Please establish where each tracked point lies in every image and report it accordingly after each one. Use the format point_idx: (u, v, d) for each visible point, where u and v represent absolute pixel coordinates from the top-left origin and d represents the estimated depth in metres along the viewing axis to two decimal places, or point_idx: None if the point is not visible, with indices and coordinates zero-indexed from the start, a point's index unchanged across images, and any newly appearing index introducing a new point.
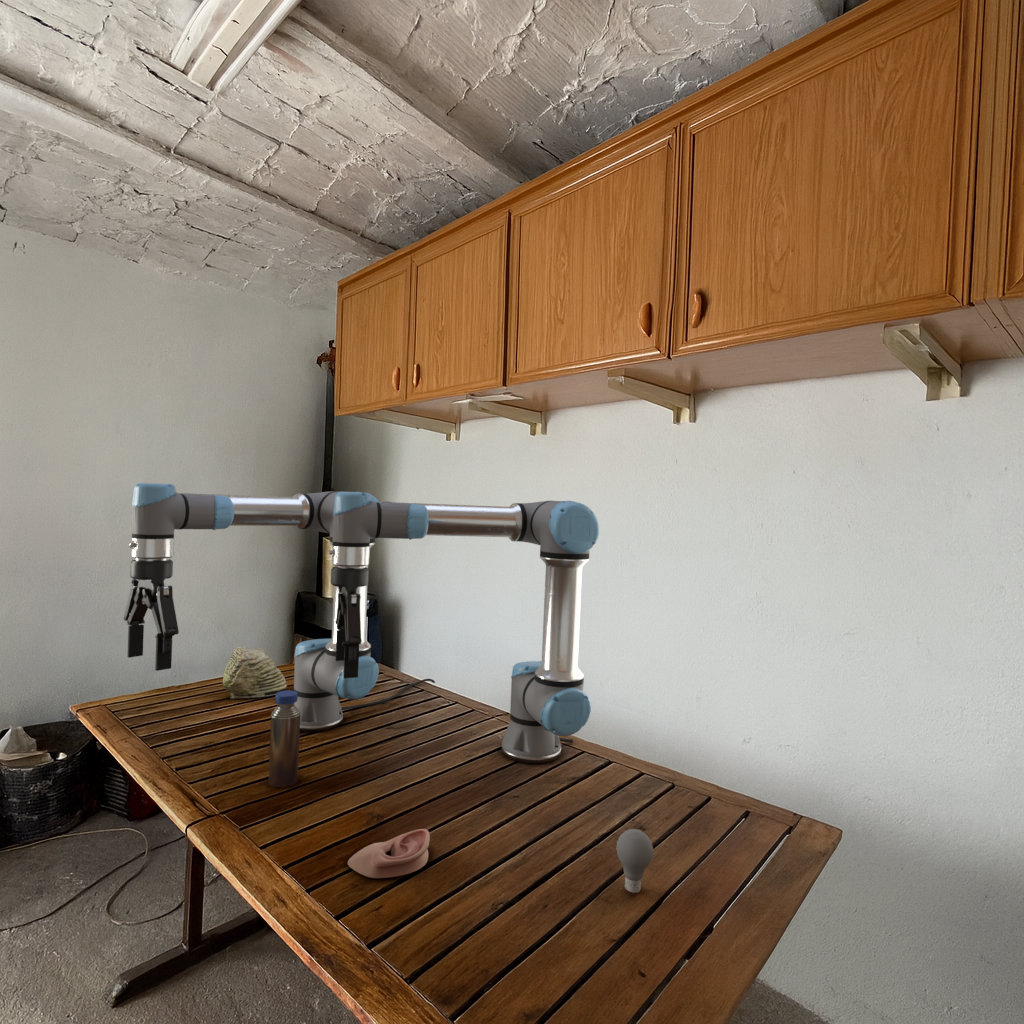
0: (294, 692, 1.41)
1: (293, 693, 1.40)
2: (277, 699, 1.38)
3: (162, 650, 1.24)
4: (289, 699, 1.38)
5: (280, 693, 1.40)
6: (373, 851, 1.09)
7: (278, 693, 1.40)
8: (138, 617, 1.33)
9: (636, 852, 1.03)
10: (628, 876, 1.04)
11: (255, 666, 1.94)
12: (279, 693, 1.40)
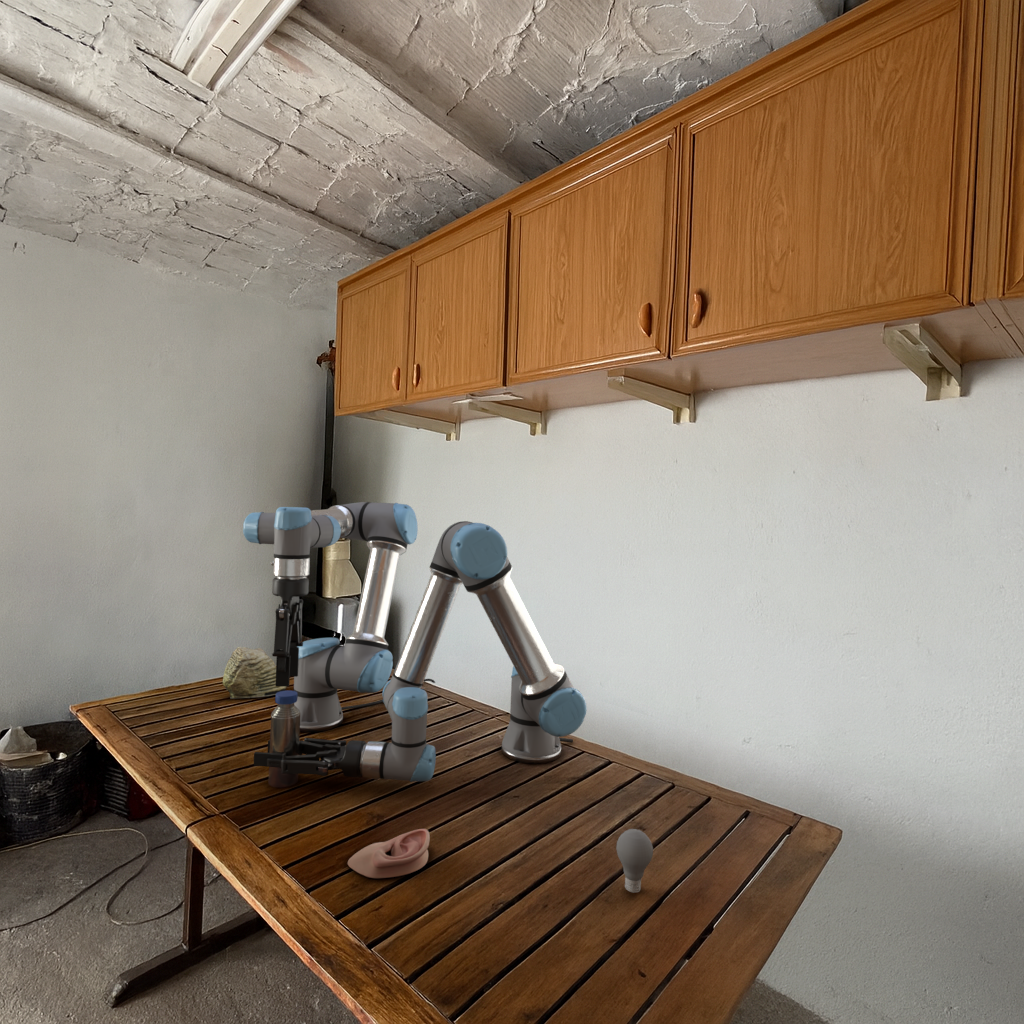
0: (294, 692, 1.41)
1: (293, 693, 1.40)
2: (277, 699, 1.38)
3: None
4: (289, 699, 1.38)
5: (280, 693, 1.40)
6: (373, 851, 1.09)
7: (278, 693, 1.40)
8: (292, 637, 1.43)
9: (636, 852, 1.03)
10: (628, 876, 1.04)
11: (255, 666, 1.94)
12: (279, 693, 1.40)
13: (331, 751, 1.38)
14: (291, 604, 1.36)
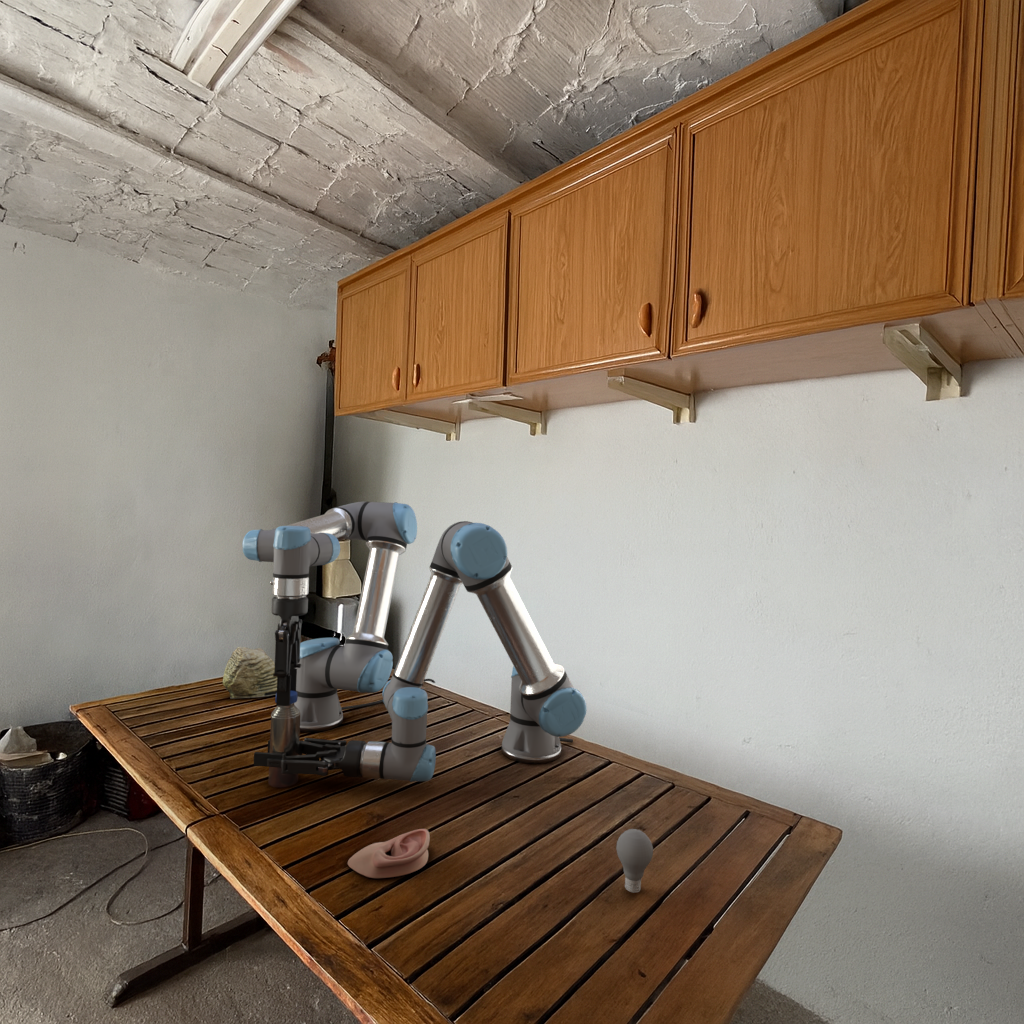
0: (294, 692, 1.41)
1: (293, 693, 1.40)
2: None
3: None
4: None
5: None
6: (373, 851, 1.09)
7: None
8: (291, 658, 1.42)
9: (636, 852, 1.03)
10: (628, 876, 1.04)
11: (255, 666, 1.94)
12: None
13: (331, 751, 1.38)
14: (290, 624, 1.37)
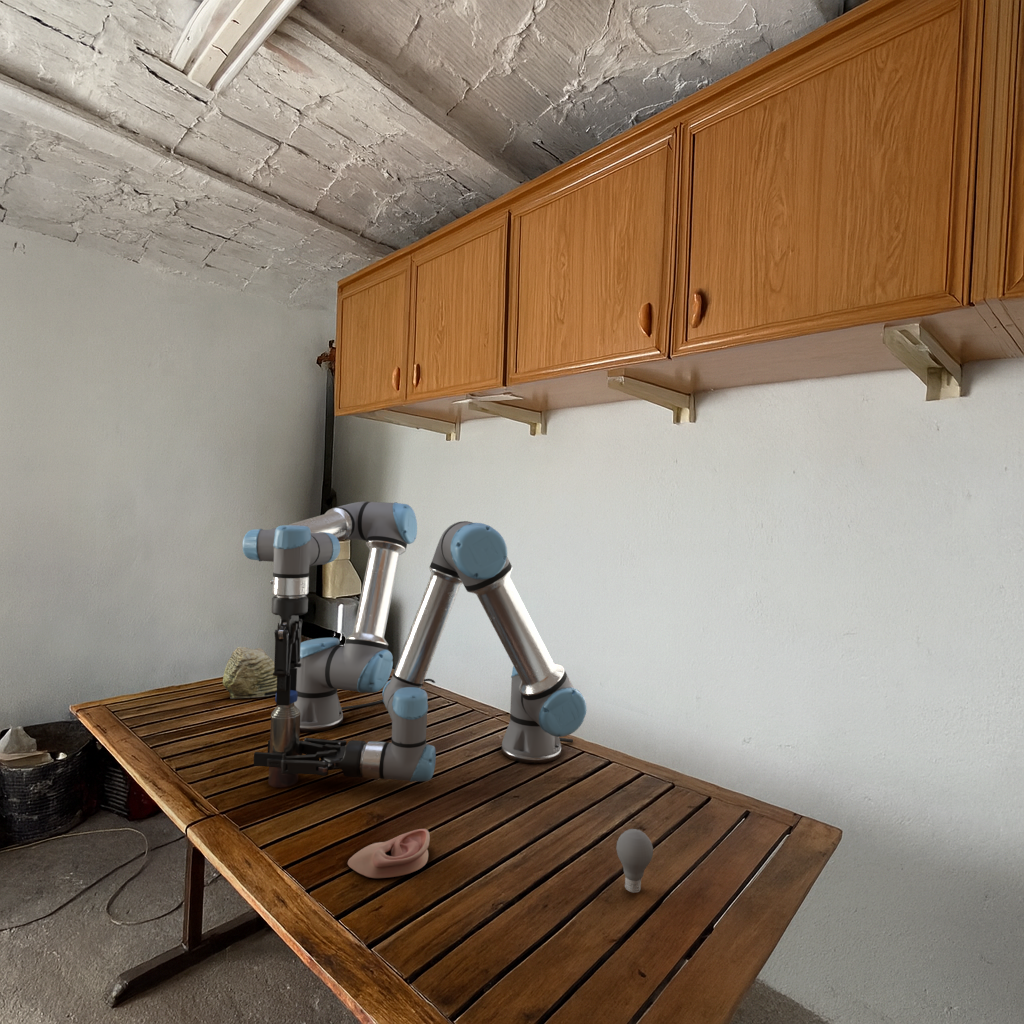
0: None
1: None
2: (296, 697, 1.40)
3: None
4: None
5: None
6: (373, 851, 1.09)
7: None
8: (291, 657, 1.42)
9: (636, 852, 1.03)
10: (628, 876, 1.04)
11: (255, 666, 1.94)
12: None
13: (331, 751, 1.38)
14: (290, 623, 1.37)
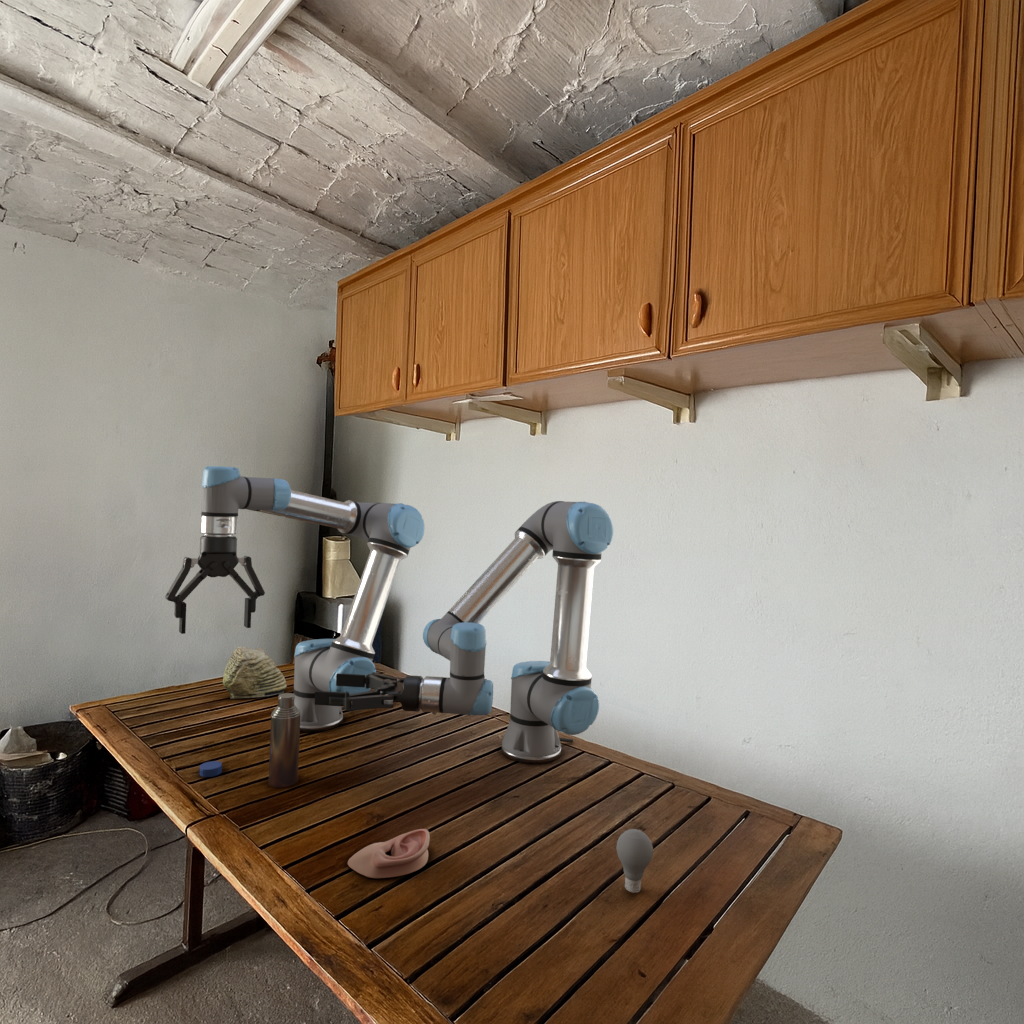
0: (203, 764, 1.43)
1: (207, 763, 1.44)
2: (221, 768, 1.43)
3: (253, 609, 1.46)
4: None
5: (214, 766, 1.42)
6: (373, 851, 1.09)
7: (215, 767, 1.42)
8: None
9: (636, 852, 1.03)
10: (628, 876, 1.04)
11: (255, 666, 1.94)
12: (214, 767, 1.42)
13: (390, 685, 1.37)
14: None
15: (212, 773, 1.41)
